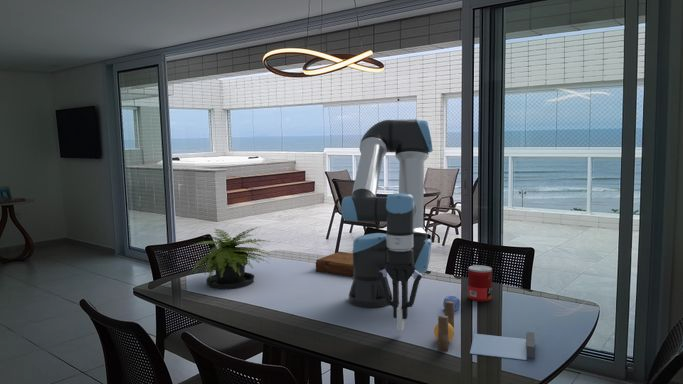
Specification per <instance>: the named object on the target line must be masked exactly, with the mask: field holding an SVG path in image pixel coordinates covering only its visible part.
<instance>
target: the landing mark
mask: <svg viewBox="0 0 683 384" xmlns="http://www.w3.org/2000/svg"><path fill="white" fill-rule="evenodd" d="M469 355H477V356H484V357H485V356H486V357H493V358H501V359H502V358H503V359H512V360H520V361H527V360H528V359H527V358H528V357H527V354H526V338H521V337H509V336H500V335H499V336H498V335H491V334H482V333H481V334H480V333H473V338H472V342H471V347H470V351H469Z"/></svg>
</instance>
